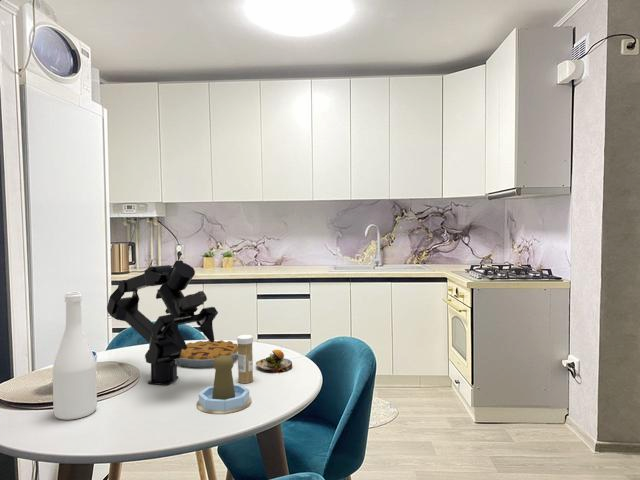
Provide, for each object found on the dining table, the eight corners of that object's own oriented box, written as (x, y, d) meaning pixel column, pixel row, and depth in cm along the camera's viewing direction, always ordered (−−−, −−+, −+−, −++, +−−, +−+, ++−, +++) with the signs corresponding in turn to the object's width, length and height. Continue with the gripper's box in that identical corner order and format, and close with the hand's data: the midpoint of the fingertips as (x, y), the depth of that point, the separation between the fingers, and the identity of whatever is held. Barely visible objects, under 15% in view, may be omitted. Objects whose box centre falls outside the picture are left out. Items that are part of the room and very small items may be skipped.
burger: (259, 362, 158) (259, 340, 157) (294, 363, 157) (294, 341, 157) (252, 373, 146) (252, 350, 145) (289, 374, 145) (289, 350, 145)
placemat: (187, 412, 116) (187, 410, 116) (209, 391, 130) (209, 390, 130) (241, 415, 114) (241, 414, 114) (258, 394, 127) (258, 393, 127)
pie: (243, 350, 172) (243, 337, 171) (234, 369, 150) (234, 354, 150) (183, 351, 171) (183, 337, 171) (165, 370, 149) (165, 354, 149)
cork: (223, 404, 117) (223, 361, 117) (206, 399, 121) (206, 357, 120) (240, 397, 122) (240, 355, 122) (224, 392, 126) (223, 352, 125)
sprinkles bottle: (255, 381, 138) (255, 336, 137) (241, 384, 135) (241, 338, 135) (249, 377, 142) (248, 333, 141) (235, 380, 139) (234, 335, 138)
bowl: (192, 409, 117) (192, 399, 117) (211, 391, 128) (211, 382, 128) (238, 412, 115) (238, 402, 115) (253, 394, 127) (253, 385, 126)
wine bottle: (67, 424, 109) (64, 296, 108) (45, 415, 114) (42, 293, 113) (105, 410, 117) (102, 291, 116) (83, 402, 122) (80, 288, 121)
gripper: (157, 286, 122) (183, 334, 116) (213, 279, 137) (239, 321, 131) (141, 312, 128) (165, 359, 121) (196, 303, 142) (221, 344, 136)
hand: (200, 345), depth 127 cm, fingers open, 9 cm apart
